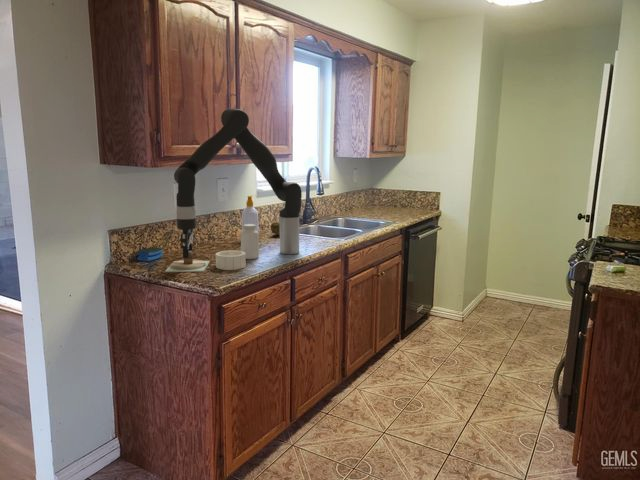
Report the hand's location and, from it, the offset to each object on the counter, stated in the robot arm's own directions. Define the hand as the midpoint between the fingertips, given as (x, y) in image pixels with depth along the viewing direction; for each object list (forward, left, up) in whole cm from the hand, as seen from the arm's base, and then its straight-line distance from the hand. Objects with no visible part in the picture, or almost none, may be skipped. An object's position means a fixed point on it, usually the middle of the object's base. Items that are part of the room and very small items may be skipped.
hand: (187, 255), depth 201 cm
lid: (0, 0, -4) cm, 4 cm away
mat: (0, 0, -5) cm, 5 cm away
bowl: (0, +18, -5) cm, 18 cm away
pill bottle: (-16, +24, -5) cm, 30 cm away
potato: (-71, +37, -5) cm, 80 cm away
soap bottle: (-57, +22, -5) cm, 61 cm away
